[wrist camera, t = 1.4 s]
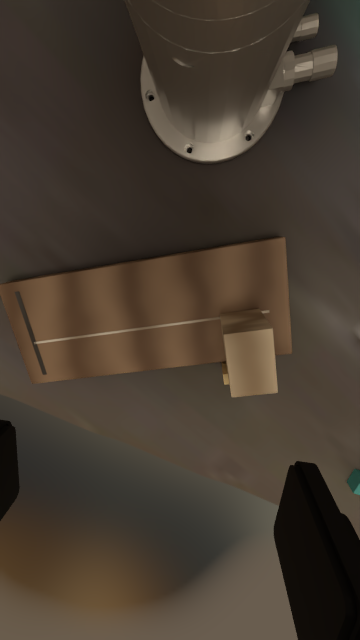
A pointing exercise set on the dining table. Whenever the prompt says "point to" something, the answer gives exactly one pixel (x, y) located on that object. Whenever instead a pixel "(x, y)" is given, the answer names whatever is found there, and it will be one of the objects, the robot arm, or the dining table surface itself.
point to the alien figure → (355, 481)
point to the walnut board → (146, 310)
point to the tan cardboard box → (248, 353)
